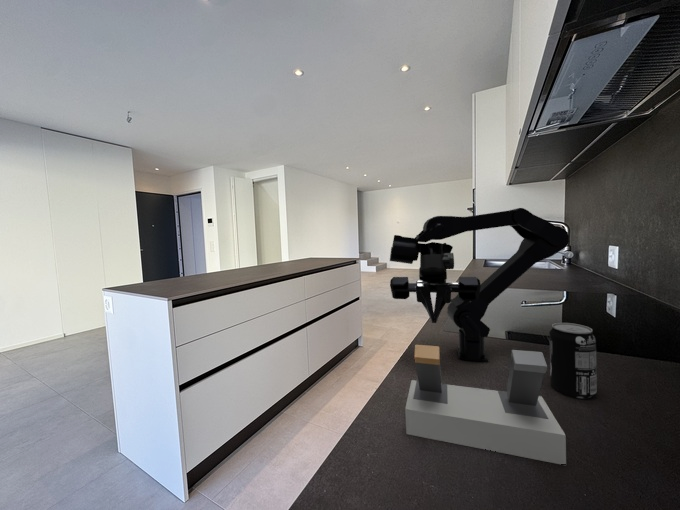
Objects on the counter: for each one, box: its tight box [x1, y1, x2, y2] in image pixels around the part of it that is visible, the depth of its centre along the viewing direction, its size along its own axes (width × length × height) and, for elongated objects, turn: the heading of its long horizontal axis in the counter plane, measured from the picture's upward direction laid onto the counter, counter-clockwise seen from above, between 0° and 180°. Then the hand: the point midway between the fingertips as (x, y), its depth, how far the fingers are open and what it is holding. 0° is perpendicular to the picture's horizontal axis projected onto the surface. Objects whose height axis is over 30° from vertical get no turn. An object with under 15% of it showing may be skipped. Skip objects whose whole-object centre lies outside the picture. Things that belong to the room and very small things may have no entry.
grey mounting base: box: [404, 379, 567, 465], centre depth 42 cm, size 9×20×4 cm, turn 69°
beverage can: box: [548, 322, 598, 399], centre depth 51 cm, size 7×7×12 cm
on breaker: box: [506, 349, 548, 406], centre depth 39 cm, size 2×4×10 cm, turn 70°
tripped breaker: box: [413, 344, 443, 393], centre depth 43 cm, size 2×4×10 cm
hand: (434, 322), depth 56 cm, fingers closed
